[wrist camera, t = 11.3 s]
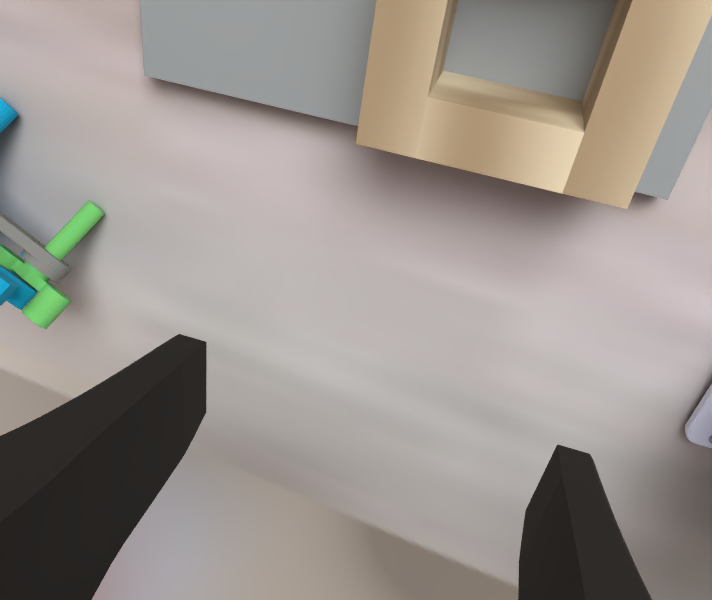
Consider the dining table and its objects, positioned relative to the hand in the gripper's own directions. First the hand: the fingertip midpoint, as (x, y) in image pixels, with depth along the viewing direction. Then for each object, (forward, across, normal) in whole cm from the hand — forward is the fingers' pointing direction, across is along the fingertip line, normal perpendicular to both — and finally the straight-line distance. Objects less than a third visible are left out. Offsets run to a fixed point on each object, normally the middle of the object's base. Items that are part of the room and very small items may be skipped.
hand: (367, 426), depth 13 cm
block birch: (+9, -1, -6) cm, 11 cm away
